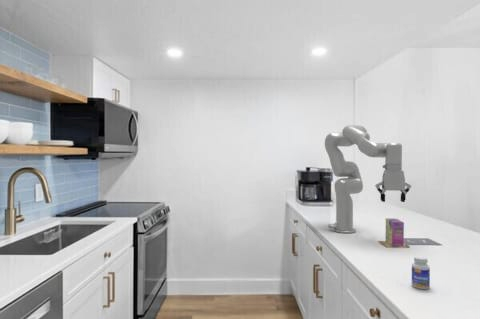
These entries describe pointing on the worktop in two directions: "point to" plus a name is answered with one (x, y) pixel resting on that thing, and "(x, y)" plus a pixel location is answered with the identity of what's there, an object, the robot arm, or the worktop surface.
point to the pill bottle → (420, 273)
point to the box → (394, 232)
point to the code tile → (420, 241)
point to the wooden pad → (392, 246)
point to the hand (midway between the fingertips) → (392, 201)
